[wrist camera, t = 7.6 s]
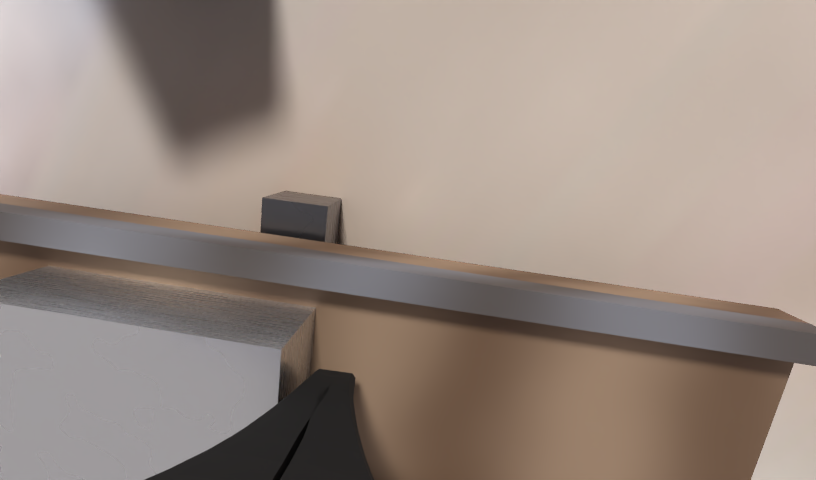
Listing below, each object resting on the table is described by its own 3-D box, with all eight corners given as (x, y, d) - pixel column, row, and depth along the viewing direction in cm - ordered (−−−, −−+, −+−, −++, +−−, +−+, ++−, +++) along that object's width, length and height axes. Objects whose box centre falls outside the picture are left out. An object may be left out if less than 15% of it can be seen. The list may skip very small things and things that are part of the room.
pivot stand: (341, 198, 14) (327, 206, 12) (318, 441, 16) (303, 483, 14) (285, 191, 14) (262, 197, 12) (269, 435, 16) (248, 475, 14)
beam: (777, 309, 11) (838, 337, 10) (694, 545, 13) (733, 605, 11) (-140, 173, 13) (-233, 176, 11) (-103, 401, 15) (-177, 435, 13)
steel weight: (315, 307, 11) (281, 349, 9) (302, 458, 12) (268, 532, 10) (48, 265, 12) (-55, 294, 9) (58, 415, 13) (-31, 476, 10)
